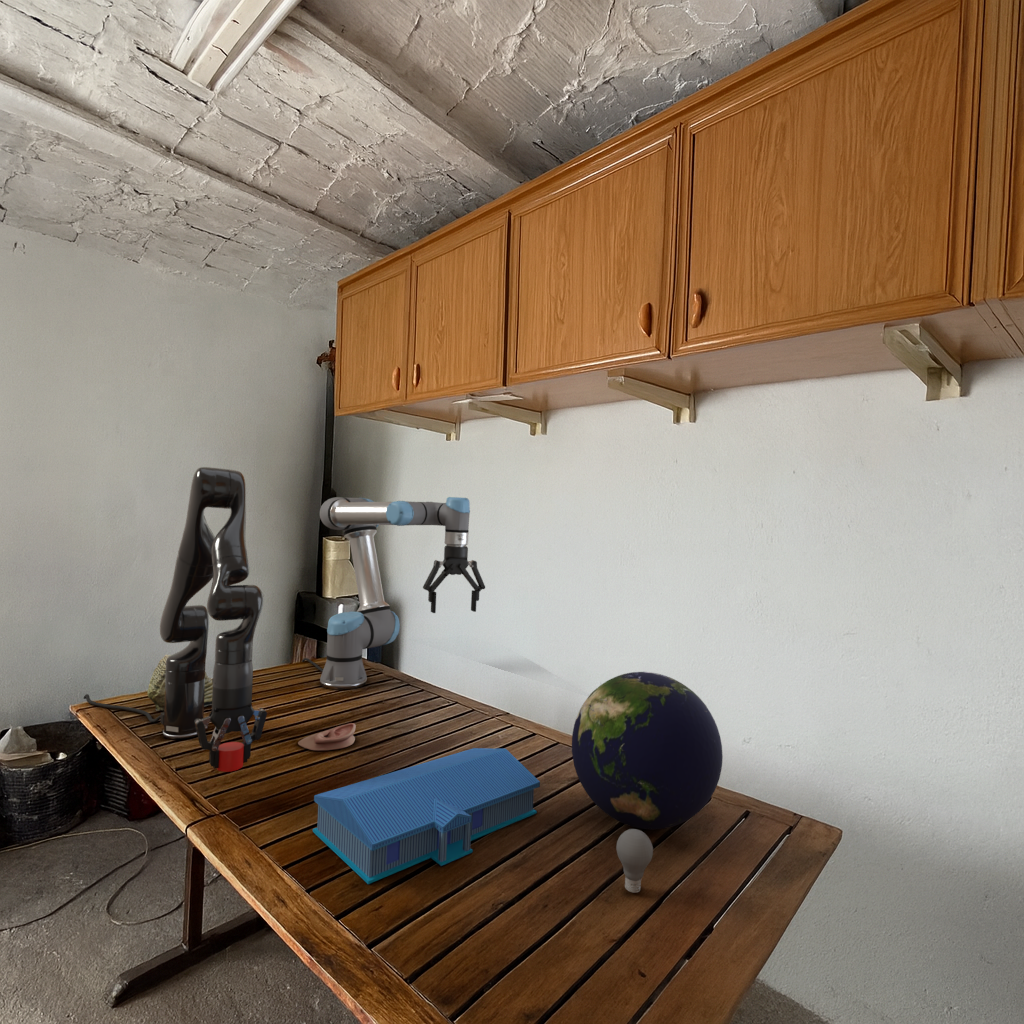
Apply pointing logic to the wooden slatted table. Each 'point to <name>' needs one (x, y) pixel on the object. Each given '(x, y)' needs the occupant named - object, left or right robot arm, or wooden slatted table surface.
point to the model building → (424, 811)
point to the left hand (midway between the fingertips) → (230, 763)
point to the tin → (230, 756)
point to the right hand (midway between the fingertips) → (453, 611)
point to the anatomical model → (330, 738)
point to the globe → (647, 750)
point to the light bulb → (634, 857)
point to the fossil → (158, 686)
